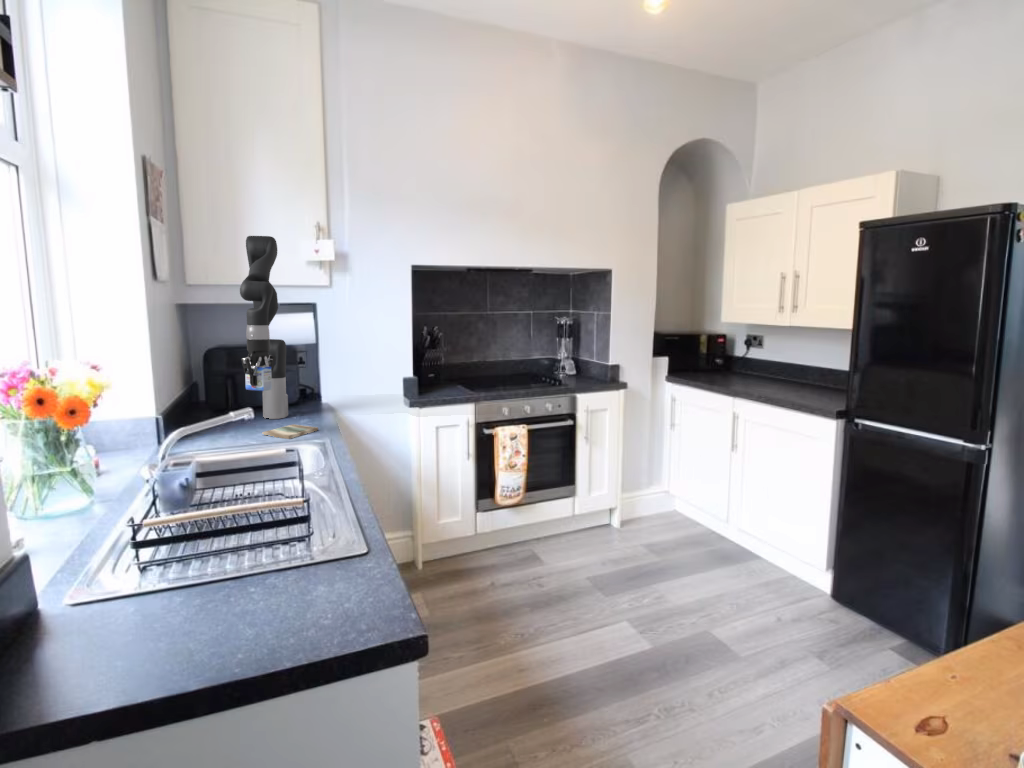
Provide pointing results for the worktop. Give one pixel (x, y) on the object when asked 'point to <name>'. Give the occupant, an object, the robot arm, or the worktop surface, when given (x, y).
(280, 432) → the board
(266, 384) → the medicine box
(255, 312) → the robot arm
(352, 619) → the worktop surface
